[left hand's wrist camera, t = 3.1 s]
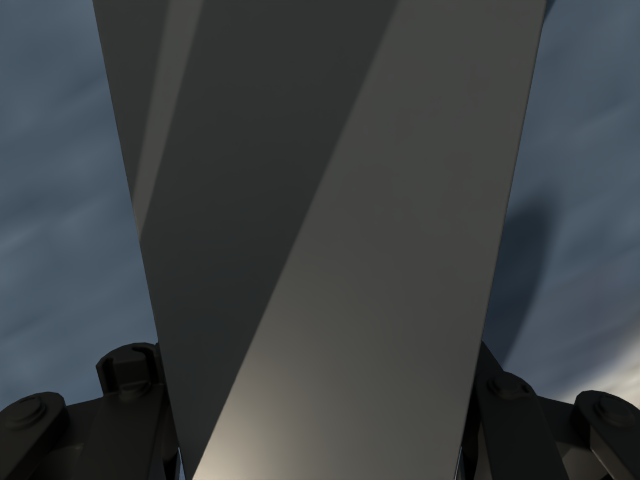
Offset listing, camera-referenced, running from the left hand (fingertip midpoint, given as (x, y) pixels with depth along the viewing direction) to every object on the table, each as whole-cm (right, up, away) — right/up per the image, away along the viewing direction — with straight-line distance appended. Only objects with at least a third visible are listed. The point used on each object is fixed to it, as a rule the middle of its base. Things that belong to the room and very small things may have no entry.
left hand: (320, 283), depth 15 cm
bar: (0, +7, -2) cm, 7 cm away
